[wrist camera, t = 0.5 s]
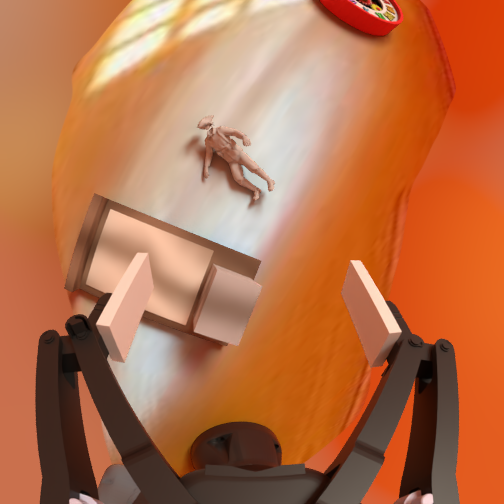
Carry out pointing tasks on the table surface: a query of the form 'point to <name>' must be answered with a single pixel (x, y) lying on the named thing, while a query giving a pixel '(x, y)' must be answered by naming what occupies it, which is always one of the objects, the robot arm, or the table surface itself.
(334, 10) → the toy clock
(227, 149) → the soldier figure
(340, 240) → the table surface
